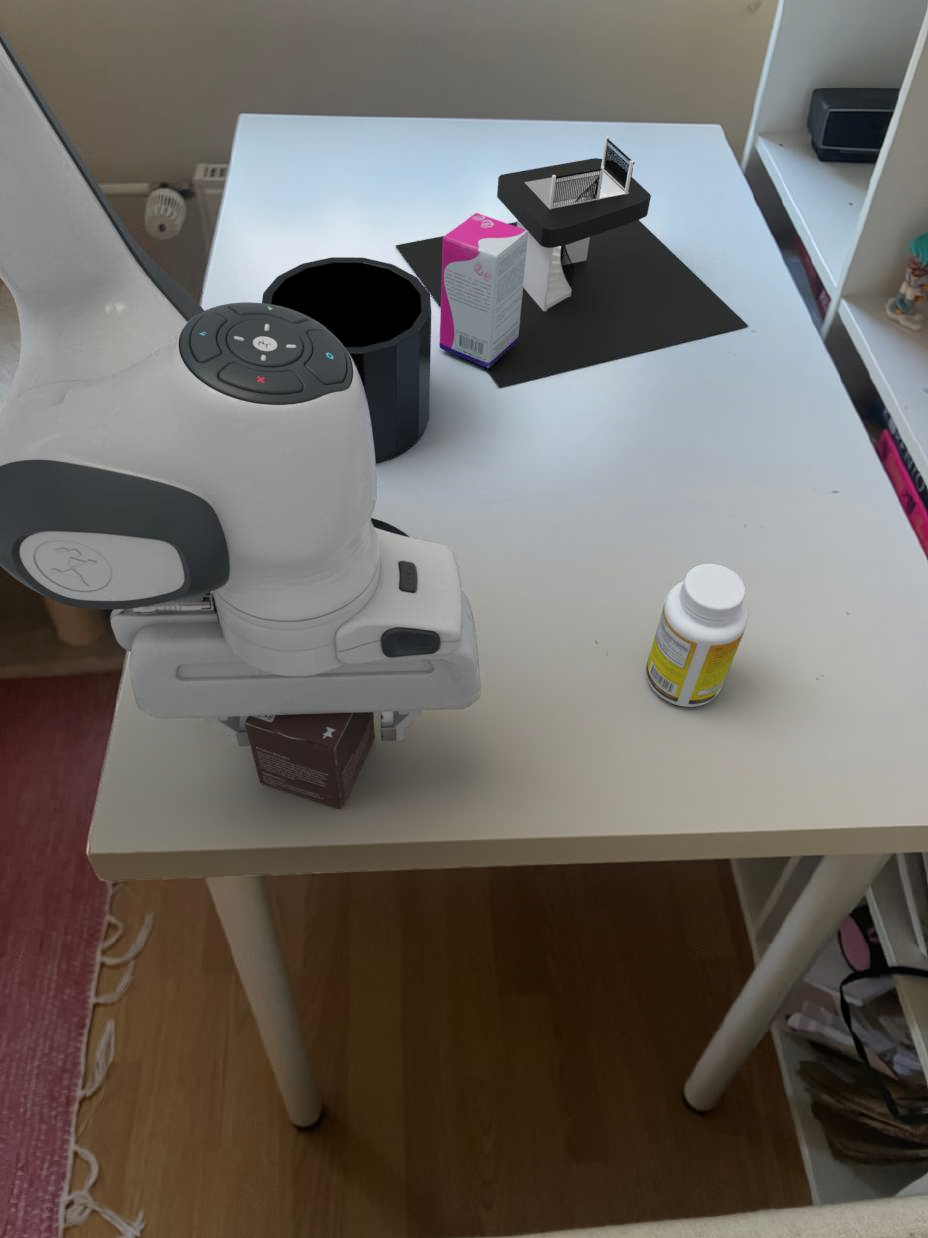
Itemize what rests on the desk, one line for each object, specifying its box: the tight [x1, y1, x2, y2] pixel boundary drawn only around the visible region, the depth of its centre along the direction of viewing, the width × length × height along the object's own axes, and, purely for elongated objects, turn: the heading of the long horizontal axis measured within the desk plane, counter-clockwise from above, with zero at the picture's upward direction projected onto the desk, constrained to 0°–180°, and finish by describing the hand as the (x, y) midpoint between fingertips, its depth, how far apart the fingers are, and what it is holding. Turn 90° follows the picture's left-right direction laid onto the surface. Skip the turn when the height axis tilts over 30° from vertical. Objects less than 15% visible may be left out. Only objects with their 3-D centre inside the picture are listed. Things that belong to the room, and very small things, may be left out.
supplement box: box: [438, 212, 528, 368], centre depth 92 cm, size 6×6×12 cm
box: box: [245, 712, 376, 810], centre depth 64 cm, size 6×6×7 cm
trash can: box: [261, 256, 432, 464], centre depth 86 cm, size 14×14×12 cm
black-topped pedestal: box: [394, 135, 749, 388], centre depth 100 cm, size 28×26×13 cm
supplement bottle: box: [645, 563, 749, 708], centre depth 69 cm, size 6×6×10 cm
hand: (319, 734), depth 65 cm, fingers open, 8 cm apart
